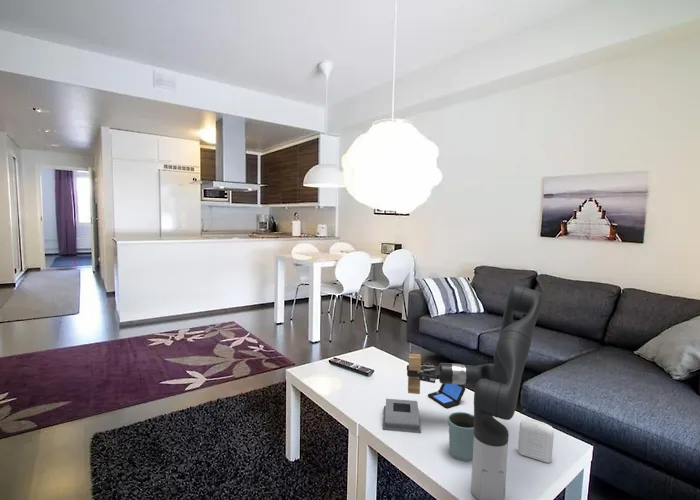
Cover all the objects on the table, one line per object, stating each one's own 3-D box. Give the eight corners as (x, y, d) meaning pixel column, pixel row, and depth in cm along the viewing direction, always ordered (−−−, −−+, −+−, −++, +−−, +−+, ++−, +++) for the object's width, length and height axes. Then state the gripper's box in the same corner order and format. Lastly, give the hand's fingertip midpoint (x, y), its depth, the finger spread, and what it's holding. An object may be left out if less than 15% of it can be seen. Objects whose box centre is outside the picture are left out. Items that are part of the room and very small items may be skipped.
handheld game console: (426, 396, 166) (427, 380, 166) (445, 391, 171) (445, 376, 171) (446, 409, 155) (447, 392, 155) (465, 404, 160) (466, 387, 160)
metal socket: (421, 433, 138) (421, 420, 137) (382, 429, 139) (383, 416, 139) (418, 410, 153) (418, 399, 153) (384, 408, 155) (384, 396, 155)
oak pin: (419, 394, 143) (421, 358, 141) (408, 393, 143) (409, 357, 142) (419, 388, 147) (420, 354, 146) (407, 387, 148) (408, 353, 146)
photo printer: (551, 457, 125) (554, 422, 124) (551, 465, 121) (554, 428, 120) (518, 448, 130) (520, 414, 129) (517, 454, 126) (519, 419, 125)
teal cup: (481, 451, 128) (483, 417, 127) (473, 467, 119) (475, 431, 118) (452, 440, 133) (453, 408, 132) (442, 455, 125) (443, 421, 124)
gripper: (450, 357, 149) (406, 354, 151) (455, 371, 135) (407, 368, 137) (449, 375, 150) (406, 372, 152) (454, 391, 136) (407, 388, 138)
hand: (407, 370), depth 145 cm, fingers closed on oak pin, 4 cm apart
